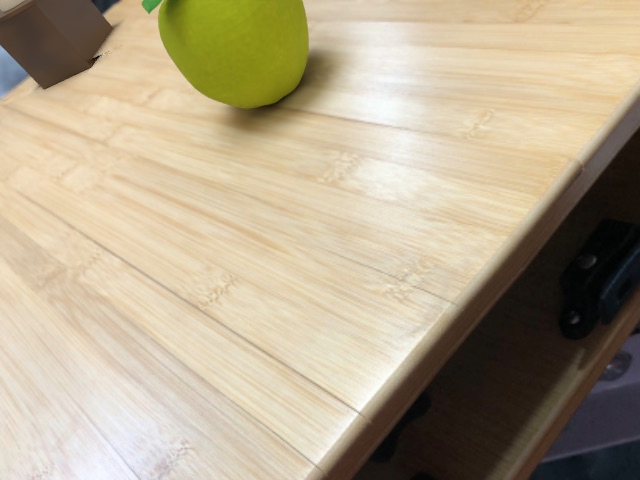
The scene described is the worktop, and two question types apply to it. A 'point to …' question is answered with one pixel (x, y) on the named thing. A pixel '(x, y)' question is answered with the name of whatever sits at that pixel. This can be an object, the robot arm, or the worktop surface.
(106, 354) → the worktop surface
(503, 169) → the worktop surface
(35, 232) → the worktop surface
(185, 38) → the fruit
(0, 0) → the towel roll
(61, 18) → the walnut box
